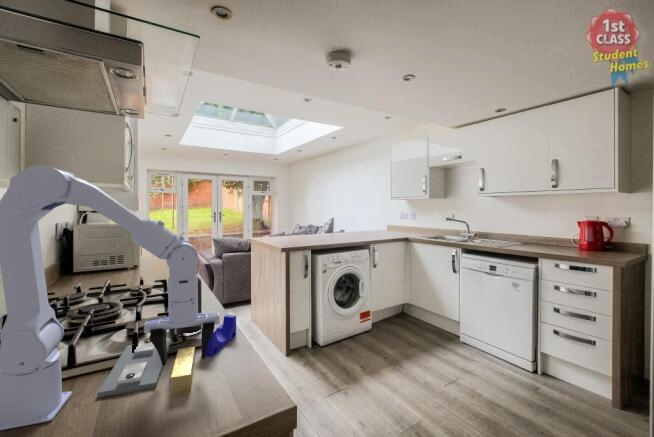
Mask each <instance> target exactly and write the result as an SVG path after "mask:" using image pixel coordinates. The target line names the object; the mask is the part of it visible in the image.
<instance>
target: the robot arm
mask: <svg viewBox="0 0 654 437" xmlns="http://www.w3.org/2000/svg"><path fill="white" fill-rule="evenodd" d="M63 205H73V206H80V207H81V206H82V207H87V208H90V209H92V210H94V211H95V212H96V213H98V214H100V215H102V216H104V217H105V218H107V219H109V220H110V221H112V222H114V223H116V224H117V225H118V226H120V227H122V228H123V229H125V230H127V231H128V232H130V236H131V242H133V243H134V244H136V245H137V246H138V247H139V246H140V248H142V249H144V250H145V251H147V252H149V254H151V255H153V256H155V257H157V258H158V259H159V260H165V262H166V264H167V266H168V268H169V270H168V272H169V277H168V278H167V291H168V293H167V294H168V295H167V296H168V316H166V317H162V318H161V317H160V318H157V319H156V318H155V319H151V320H146V321H145V323H144V324H143V334H149V339H150V341H151V342H152V344H153V345H154V346H155V348H156V350H157V351H158V354H159V356H160V359H161V363H162V365H164V366H166V364H167V362H168V354H167V347H166V340H167V332H168V330H173V329H175V330H176V328H183V327H191V326H199V325H202V330H201V332H202V347H201V360H206V356H205V354H206V349H207V346H208V343H209V340H210V338H211V336H212V334H213V331H215V326H216V325H221V324H220V323H221V321H220V318H221V317H220V316H221V315H220V312H214V313H213V312H211V313H210V312H208V313H207V312H202V313H198V278H199V276H198V273H197V267H196V266H197V264H198V265H199V260H200V257H199V256H198V255H199V254H198V251H197V249H196V247H195V246H194V245H193V244H191V241H188V240H185V239H186V238H185V237H184V236H183V235H177V234H176V233H175V232H173V231H171V230H170V229H169V228H167V227H166V226H165V224H166V223H165V222H164V221H162V220H161V219H159V220H158V221H157V220H156V219H155V218H145V219H143V218H141V217H139V216H138V215H137V214H135V213H134V212H132V211H131V210H130V209H128V208H127V207H125V205H123V204H121V202H118V201H117V200H116V199H115V198H113V197H112V196H111V195H109V194H107V193H106V192H105V191H103V190H102V189H101V188H99V187H98V186H96V185H94V184H92V183H90V182H88V181H87V180H84V179H82V178H79V177H78V176H76V175H75V174H74V173H72V172H70V171H68V170H65V169H64V170H63V169H57V168H55V167H54V166H49V165H45V164H41V165H40V164H37V165H32V166H29V167H27V168H25V169H23V170H22V171H20V172H18V173H17V174H15V175H13V176H12V177H11V178H9V186H8V188H7V189H6V191H5V192H4V194H3V196H2V197H1V198H0V272H1V274H0V275H1V281H2V288H3V293H4V300H5V301H4V302H5V308H6V319H5V322H4V323H3V324H4V325H3V327H2V329H1V332H0V431H4V430H10V429H14V428H20V427H25V426H30V425H37V424H41V423H46V422H50V421H52V420H53V419H54V418H55V417H56V415H57V414H58V413H59V411H60V410H62V409H61V408H62V407H63V406H64V405H65V404H66V402H67V401H68V400H69V398H70V397H71V396H72V395H73V391H70V390H69V391H63V387H62V384H63V383H62V357H61V354H62V353H61V352H60V350H59V349H58V346H57V345H58V344H60V342H61V341H62V339H63V338H64V335H65V331H64V326H63V324H62V323H60V321H59V320H58V319H57V317H56V311H55V309H53V307H51V306H50V304H49V297H48V290H47V288H48V287H47V280H46V274H45V266H44V265H45V264H44V258H43V251H42V250H43V249H42V242H41V235H40V228H39V227H40V226H39V221H40V220H41V219H43V218H44V217H45V216H46V215H47V214H49V213H50V212H51V211H53V210H55V209H56V208H58V207H61V206H63ZM196 273H197V275H196Z"/></svg>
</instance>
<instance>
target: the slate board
mask: <svg viewBox="0 0 654 437" xmlns="http://www.w3.org/2000/svg"><path fill="white" fill-rule="evenodd" d="M170 342H171V343H172V340H171V339H168V340H167V339H166V347H167V353H169V351H168V348H169V344H170ZM132 345H133V344H129V345H127V346H126V347H125V349H124V350H123V352H122V354H121V355H120V356H119V358H118V360H116V363H115V364H114V365H113V368H112V369H111V371H110V372H109V373H108V376H107V377H106V379H105V381H103V383H102V384H101V387H100V388H99V390H98V391H97V398H102V397H108V396H109V397H110V396H114V395H119V394H125V393H131V392H138V391H143V390H148V389H154V388H157V386H158V383H159V380H160V377H161V375H162V371H163V369H164V366H165V365H162V363H161V359H160V356H159V354H158V351H157V350H156V348H155V350H154V352H153V354H151V355H144V356H137V357H134V353H132ZM169 349H170V348H169ZM144 362H147V369H146V371H145V374H144V376H143V378H142V381H141V383H135V384H129V385H123V386H118V383H117V381H118V379H119V377H120V375H121V373H122V372H123V370H124V368H125V366H126V365H130V364H137V363H144Z"/></svg>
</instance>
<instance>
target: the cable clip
mask: <svg viewBox="0 0 654 437" xmlns="http://www.w3.org/2000/svg"><path fill="white" fill-rule="evenodd" d="M200 334H201V348H202V331H201V333H200ZM236 336H237V315H234V314H225V315H224V316H223V322H222V323H221V324H219V326H218V327H216V329H215V330H214V331H213V334H212V336H211V338H210V340H209V343H208V346H207V349H206V354H205V357H214V356H215V355H216V354H217V353H218V352H220V350H222V349H223V348H224V347H225V346H226V345H228V343H229V342H231V341H233V339H234V338H235V337H236Z"/></svg>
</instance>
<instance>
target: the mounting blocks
mask: <svg viewBox="0 0 654 437" xmlns="http://www.w3.org/2000/svg"><path fill="white" fill-rule="evenodd" d="M137 344H138V346H137V347H136V349H135V350H134V357H137V356H144V355H151V354H153V352H154V350H155V346H154V345H153V344H152V342H151V341H150V338H149V339H145V340H139V341H138V343H137ZM146 369H147V362H144V363H137V364H130V365H126V366H125V368H124V370H123V372H122V373H121V375H120V377H119V379H118V381H117V383H118V386H123V385H129V384H135V383H141V381H142V378H143V376H144V374H145V371H146Z"/></svg>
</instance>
